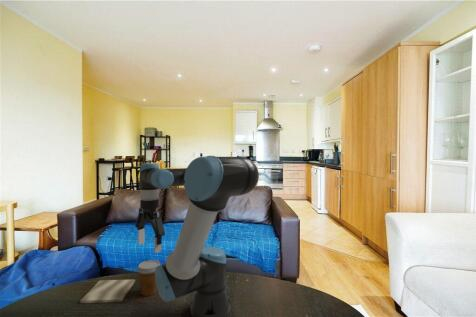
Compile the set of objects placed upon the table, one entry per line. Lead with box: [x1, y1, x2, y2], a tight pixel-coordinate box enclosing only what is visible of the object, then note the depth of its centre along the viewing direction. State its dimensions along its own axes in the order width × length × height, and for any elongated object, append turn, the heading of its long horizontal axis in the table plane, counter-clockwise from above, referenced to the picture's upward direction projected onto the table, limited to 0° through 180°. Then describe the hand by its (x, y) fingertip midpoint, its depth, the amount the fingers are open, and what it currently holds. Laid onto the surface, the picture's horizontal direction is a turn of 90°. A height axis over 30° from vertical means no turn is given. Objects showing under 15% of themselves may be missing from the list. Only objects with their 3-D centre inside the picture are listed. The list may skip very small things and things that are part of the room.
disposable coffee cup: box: [137, 259, 161, 297], centre depth 105 cm, size 10×10×12 cm
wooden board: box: [79, 278, 136, 304], centre depth 105 cm, size 16×16×1 cm
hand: (149, 247), depth 105 cm, fingers open, 13 cm apart
